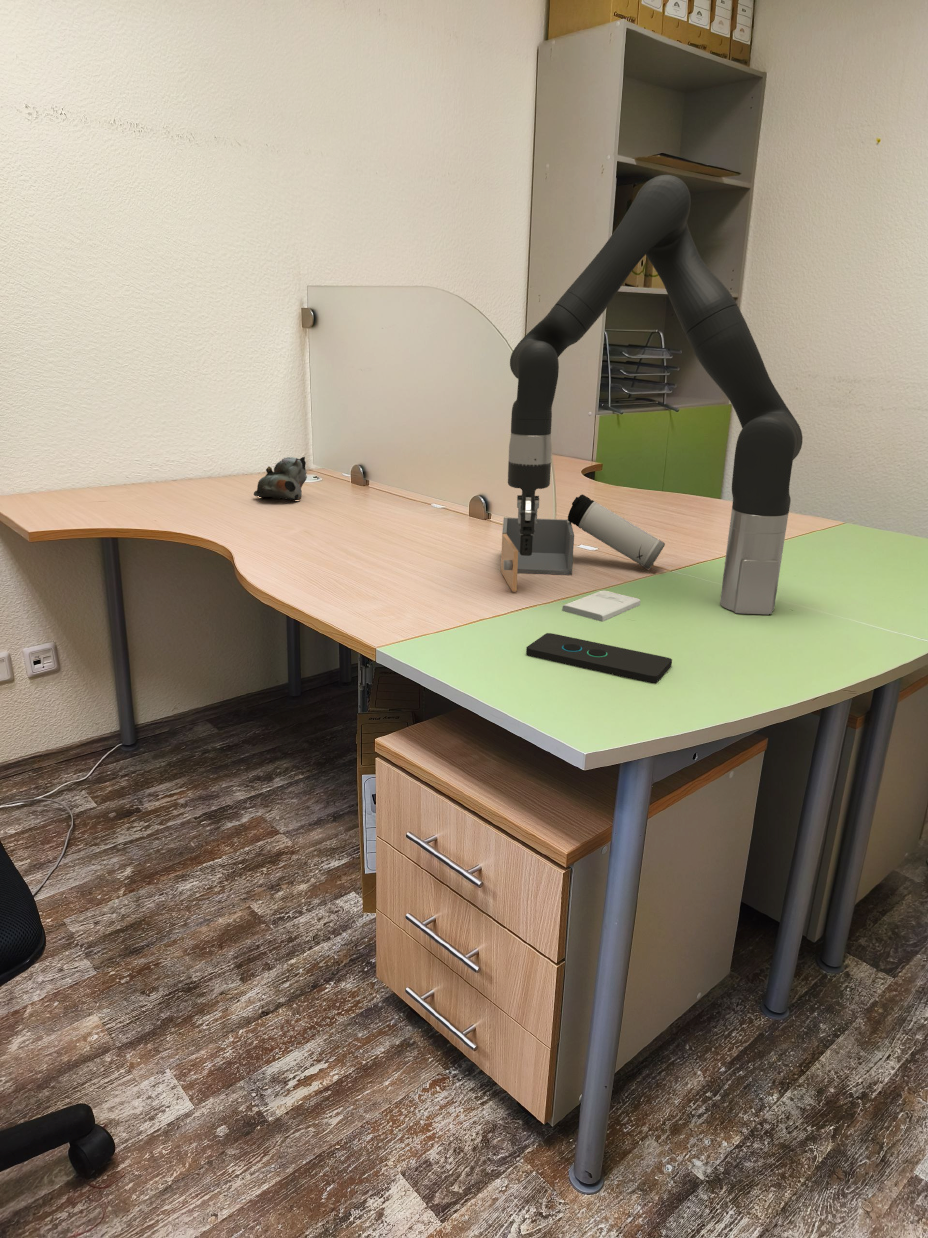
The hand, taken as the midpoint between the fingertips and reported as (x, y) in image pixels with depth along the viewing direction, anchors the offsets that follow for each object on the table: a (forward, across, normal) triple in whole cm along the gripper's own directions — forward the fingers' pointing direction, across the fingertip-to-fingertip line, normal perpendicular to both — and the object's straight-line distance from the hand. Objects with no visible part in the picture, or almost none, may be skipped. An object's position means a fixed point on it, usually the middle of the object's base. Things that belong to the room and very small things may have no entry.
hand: (525, 554), depth 153 cm
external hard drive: (+7, -9, -14) cm, 18 cm away
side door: (+6, +3, +4) cm, 8 cm away
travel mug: (+4, +16, -27) cm, 32 cm away
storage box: (+7, +18, -2) cm, 19 cm away
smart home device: (+7, -34, -11) cm, 36 cm away
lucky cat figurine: (+6, +75, +66) cm, 100 cm away
